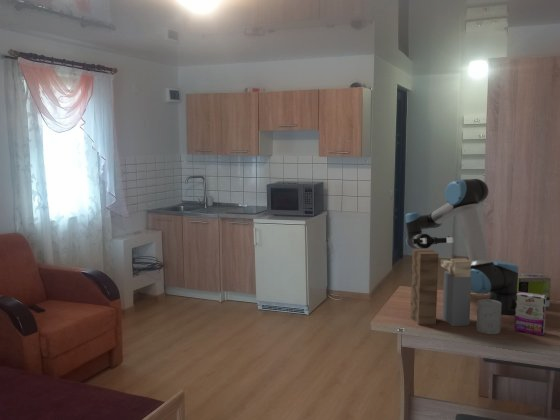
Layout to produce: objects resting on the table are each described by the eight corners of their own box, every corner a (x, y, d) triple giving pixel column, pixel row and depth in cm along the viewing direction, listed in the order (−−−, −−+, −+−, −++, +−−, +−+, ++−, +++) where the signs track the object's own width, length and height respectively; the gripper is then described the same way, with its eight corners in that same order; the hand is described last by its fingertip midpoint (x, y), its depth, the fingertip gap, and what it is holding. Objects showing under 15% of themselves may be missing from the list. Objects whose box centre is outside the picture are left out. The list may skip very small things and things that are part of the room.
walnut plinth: (410, 317, 238) (412, 249, 233) (427, 316, 239) (429, 248, 234) (418, 324, 228) (420, 254, 223) (435, 324, 229) (438, 253, 224)
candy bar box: (544, 332, 219) (547, 295, 216) (542, 336, 214) (545, 298, 212) (515, 327, 225) (518, 290, 222) (513, 330, 221) (516, 293, 218)
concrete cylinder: (505, 331, 220) (506, 303, 218) (490, 335, 215) (491, 307, 213) (486, 324, 228) (487, 297, 226) (471, 328, 223) (472, 301, 222)
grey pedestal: (442, 318, 236) (444, 271, 233) (459, 317, 237) (461, 270, 234) (451, 326, 226) (453, 277, 223) (469, 325, 227) (471, 276, 224)
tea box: (541, 301, 259) (543, 272, 257) (549, 307, 250) (551, 278, 247) (510, 300, 261) (511, 272, 259) (517, 307, 251) (519, 277, 249)
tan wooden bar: (436, 265, 243) (436, 251, 242) (450, 265, 244) (451, 250, 243) (454, 277, 223) (455, 261, 222) (470, 276, 224) (470, 261, 223)
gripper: (445, 247, 270) (464, 247, 249) (399, 249, 267) (415, 249, 246) (445, 233, 270) (463, 231, 249) (399, 234, 268) (414, 233, 247)
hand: (439, 240), depth 248 cm, fingers open, 13 cm apart
